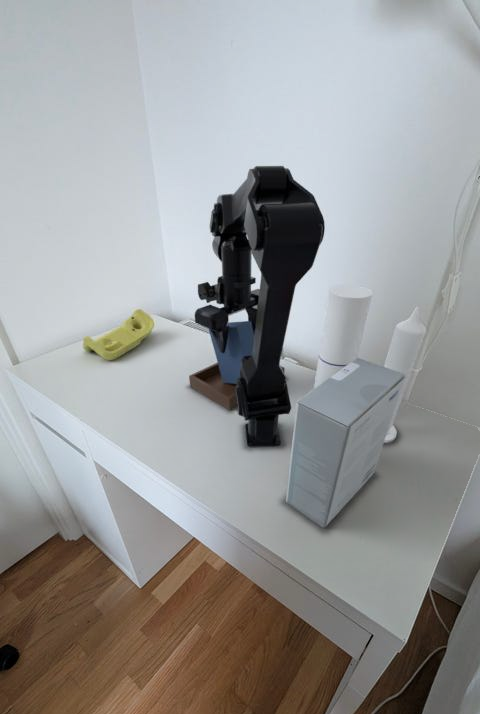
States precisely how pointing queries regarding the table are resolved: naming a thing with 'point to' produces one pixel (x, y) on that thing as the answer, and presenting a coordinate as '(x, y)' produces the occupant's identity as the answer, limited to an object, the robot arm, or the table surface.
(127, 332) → the plastic component
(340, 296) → the cylindrical container
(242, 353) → the back pad
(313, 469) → the hard drive box
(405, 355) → the white nozzle bottle
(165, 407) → the table surface
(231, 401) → the tray
